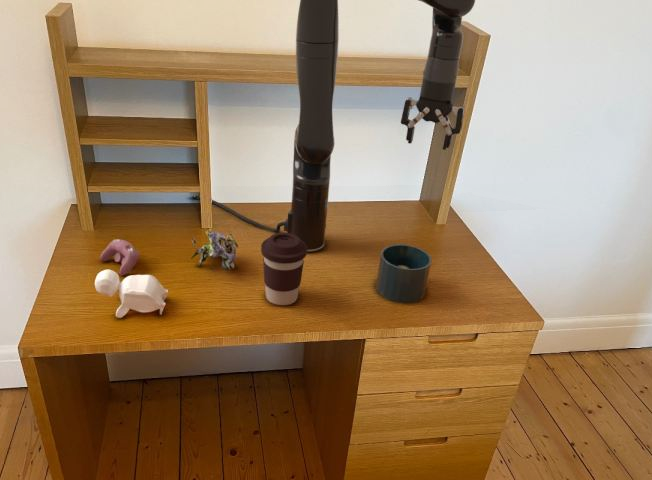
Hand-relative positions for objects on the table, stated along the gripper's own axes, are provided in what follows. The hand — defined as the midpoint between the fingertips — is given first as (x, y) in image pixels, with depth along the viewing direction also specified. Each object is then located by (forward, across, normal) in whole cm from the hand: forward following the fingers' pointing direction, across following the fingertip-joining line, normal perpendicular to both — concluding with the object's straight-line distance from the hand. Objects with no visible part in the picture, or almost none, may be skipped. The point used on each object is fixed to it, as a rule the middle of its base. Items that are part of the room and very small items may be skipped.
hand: (427, 145), depth 143 cm
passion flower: (+28, +41, +33) cm, 60 cm away
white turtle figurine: (+28, +48, +56) cm, 79 cm away
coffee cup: (+28, +21, +38) cm, 52 cm away
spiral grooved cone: (+28, -3, +22) cm, 35 cm away
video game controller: (+28, +61, +43) cm, 80 cm away
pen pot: (+28, -3, +22) cm, 36 cm away
